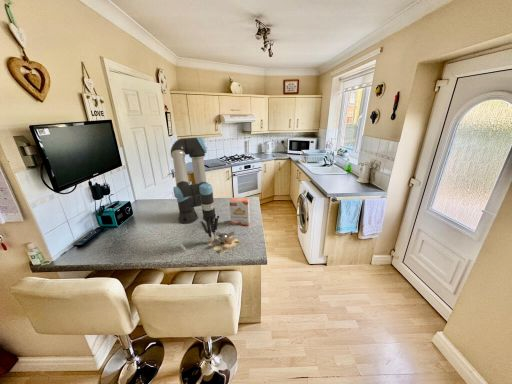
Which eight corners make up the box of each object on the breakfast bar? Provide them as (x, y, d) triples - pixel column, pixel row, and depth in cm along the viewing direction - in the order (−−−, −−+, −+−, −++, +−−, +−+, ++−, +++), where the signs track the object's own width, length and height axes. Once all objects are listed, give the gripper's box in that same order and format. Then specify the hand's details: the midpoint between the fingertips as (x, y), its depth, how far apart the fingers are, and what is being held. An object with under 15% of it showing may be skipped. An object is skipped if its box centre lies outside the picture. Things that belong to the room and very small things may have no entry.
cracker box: (231, 225, 154) (229, 201, 146) (232, 221, 159) (230, 197, 152) (249, 226, 152) (247, 201, 144) (250, 222, 158) (249, 198, 150)
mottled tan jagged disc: (206, 243, 133) (205, 239, 132) (227, 233, 144) (227, 229, 142) (219, 256, 121) (219, 251, 120) (242, 244, 132) (241, 240, 130)
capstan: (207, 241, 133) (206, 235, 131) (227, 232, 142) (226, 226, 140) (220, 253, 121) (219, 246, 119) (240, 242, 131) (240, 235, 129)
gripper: (201, 214, 117) (206, 247, 125) (220, 207, 124) (223, 238, 133) (195, 209, 122) (200, 241, 131) (214, 203, 130) (217, 234, 139)
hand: (212, 240), depth 132 cm, fingers closed
